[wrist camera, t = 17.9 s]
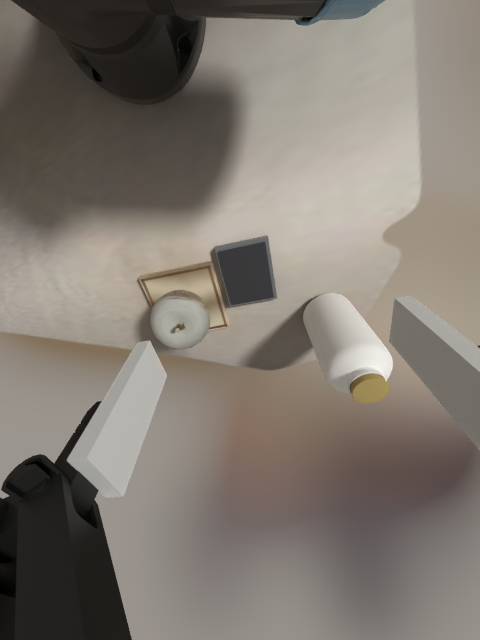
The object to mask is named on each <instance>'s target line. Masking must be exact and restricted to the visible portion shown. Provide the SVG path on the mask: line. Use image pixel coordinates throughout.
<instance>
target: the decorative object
mask: <svg viewBox="0 0 480 640" xmlns="http://www.w3.org/2000/svg"><path fill="white" fill-rule="evenodd" d="M149 319H150V327H151V330H152V332H153V334H154V335H155V337H156V338H157V339H158V340H159V341H160V342H161V343H163V344H164V345H166V346H168V347H170V348H174V349H186V348H191V347H193V346H195V345H196V344H198V343H199V342H201V341H202V339H203V338H204V337H205V336H206V334H207V333H208V330H209V327H210V313H209V309H208V307H207V305H206V303H205V302H204V301H203V299H201V298H200V297H199V296H198V295H197V294H195V293H193V292H190V291H187V290H174V291H171V292H168V293H166V294H165V295H163V296H162V297H160V298H159V299H158V300H157V301H156V303H155V304H154V305H153V307H152V309H151V312H150V318H149Z"/></svg>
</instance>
